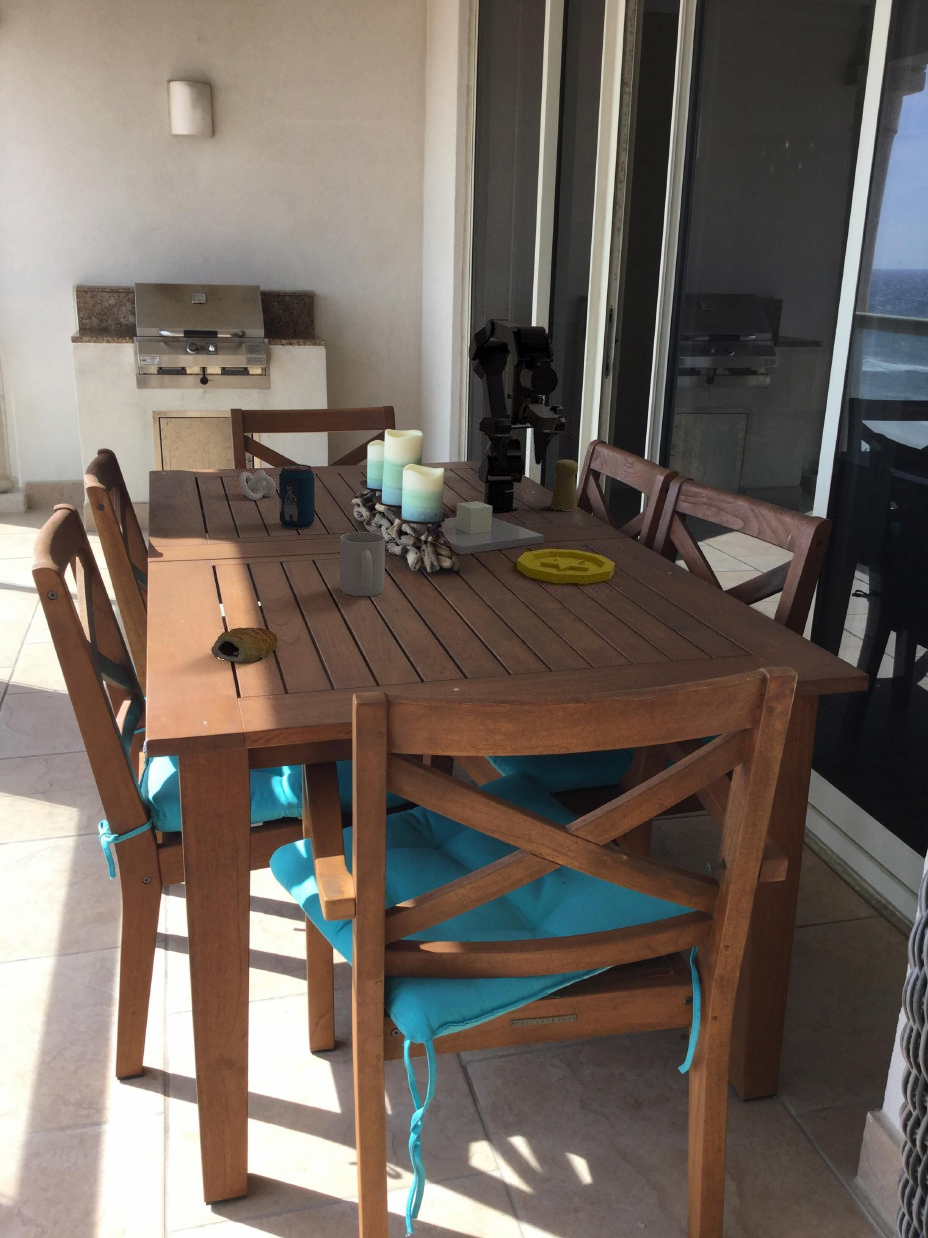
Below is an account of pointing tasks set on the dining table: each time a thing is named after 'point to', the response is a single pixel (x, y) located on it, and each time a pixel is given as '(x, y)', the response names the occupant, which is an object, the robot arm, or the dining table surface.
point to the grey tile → (489, 537)
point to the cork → (565, 486)
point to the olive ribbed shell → (244, 644)
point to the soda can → (296, 496)
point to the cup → (362, 563)
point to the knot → (256, 485)
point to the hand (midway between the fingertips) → (520, 465)
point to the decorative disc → (565, 566)
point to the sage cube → (474, 517)
